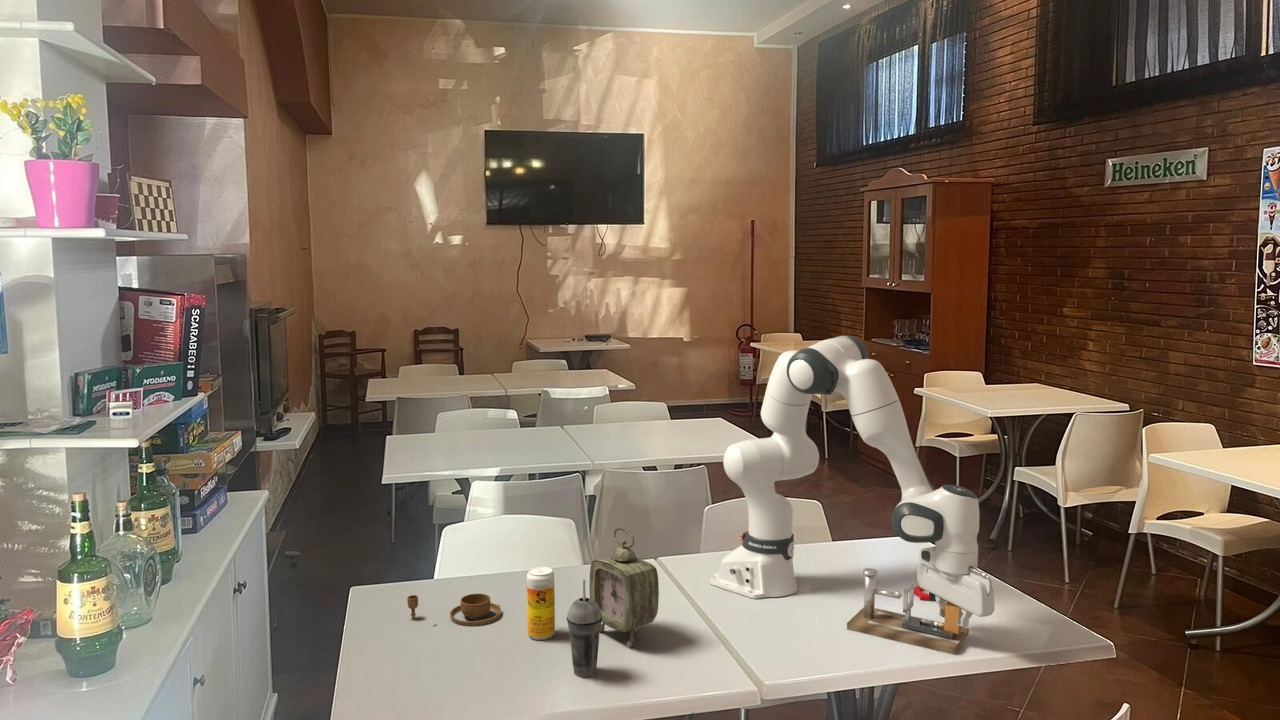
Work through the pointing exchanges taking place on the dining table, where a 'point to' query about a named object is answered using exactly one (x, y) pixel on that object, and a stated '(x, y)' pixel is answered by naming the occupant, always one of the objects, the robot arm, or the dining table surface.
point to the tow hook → (924, 594)
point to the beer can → (540, 603)
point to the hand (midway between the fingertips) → (953, 621)
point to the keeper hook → (873, 593)
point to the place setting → (466, 609)
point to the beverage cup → (584, 634)
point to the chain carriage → (928, 626)
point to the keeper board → (904, 631)
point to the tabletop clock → (624, 589)
